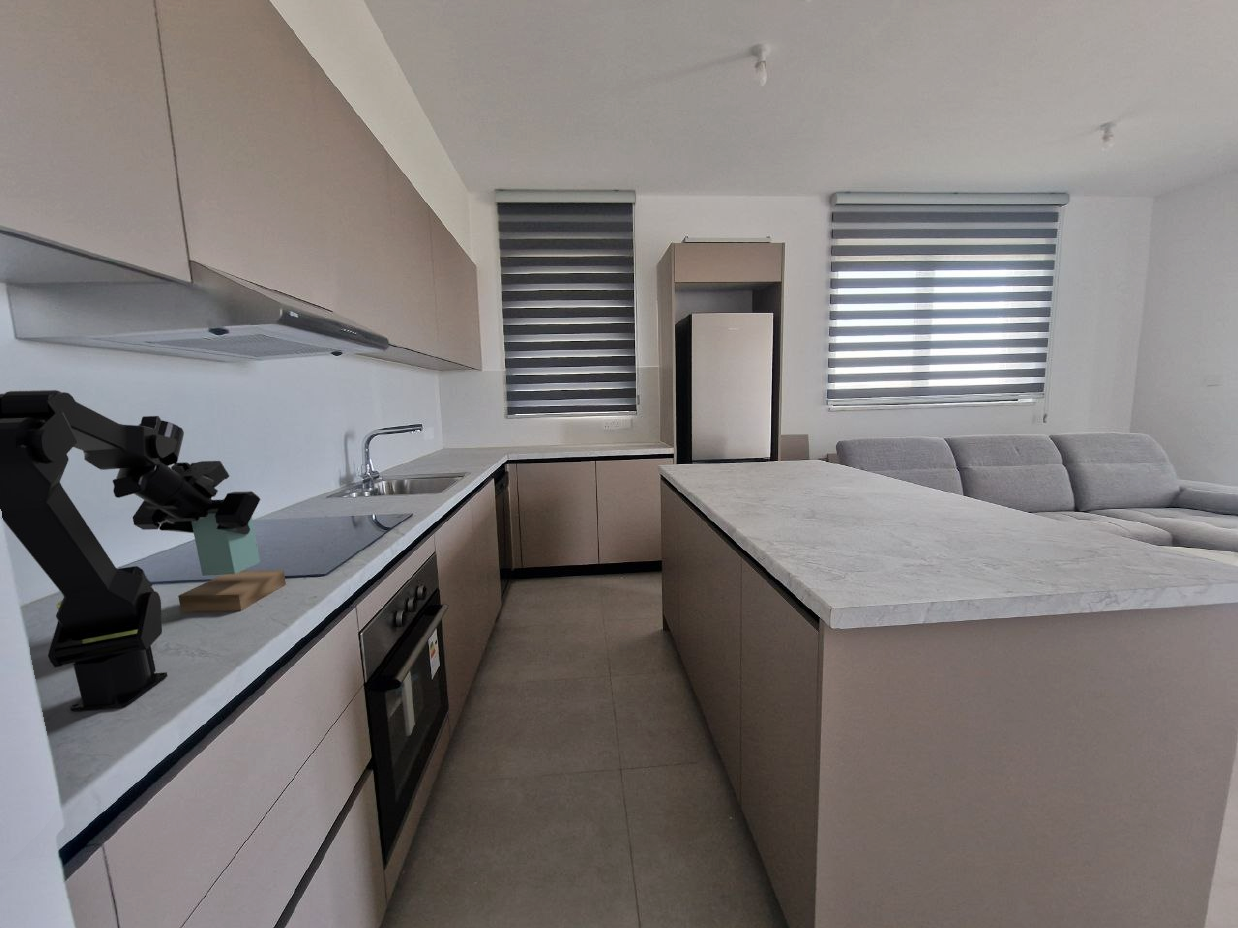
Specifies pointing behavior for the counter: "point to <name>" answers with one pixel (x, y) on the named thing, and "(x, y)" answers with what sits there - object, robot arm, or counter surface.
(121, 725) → the counter surface
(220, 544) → the tea tin
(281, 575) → the walnut block
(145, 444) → the robot arm
